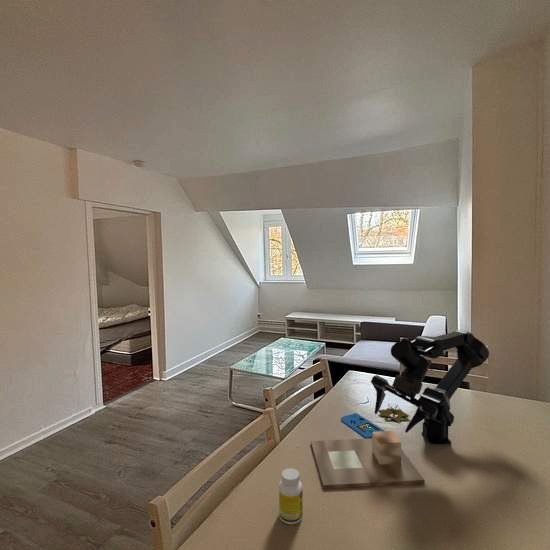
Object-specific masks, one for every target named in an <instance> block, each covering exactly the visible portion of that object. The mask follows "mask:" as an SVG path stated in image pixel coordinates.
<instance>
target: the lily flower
mask: <svg viewBox="0 0 550 550" xmlns="http://www.w3.org/2000/svg"><path fill="white" fill-rule="evenodd" d="M387 404H388V405H387V408H386V409H379V411H378V412H380V413H379V414H377V416H378V417H379V416H380V417H382V416H384V420H385V422H389V421H396V422H397V423H398V424H399V425H400V424H401V421H408V422H410V421H411V419H410V418H408V417H407V416H409V414H408V413H406V412H404V411H403V409H400V407H399V406H398V404H397V405H396V403H394V406H395V407H393V406H391V405H390V404H389V403H387ZM397 408H398V409H397ZM397 415H398V416H397ZM395 417H396V418H395ZM389 418H390V419H389Z"/></svg>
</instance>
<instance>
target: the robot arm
mask: <svg viewBox="0 0 550 550" xmlns="http://www.w3.org/2000/svg"><path fill="white" fill-rule="evenodd" d="M414 338H415V339H414V340H412V341H411V339H409V338H406V337H403V338H402V339H401V340H400V341H399V340H398V341H396V342H395V343H394V344H393V345H392V346H391V348H390V354H391V355H390V356H392V357H393V358H394V359H395V360H396V361H397V362H398V363H399V364H400V365H402V366H403V367H404V370H402V372H401V373H400V375H399V374H397V375H395V377H394V380H393V382H392V385H391V384H390V383H389V381H388V380H387V379H386V378H383V377H381V376H380V375H378V374H375V375H373V376H372V378H371V380H370V383H371V384H372V386H373V388H374V389H375V391H376V399H375V408H374V415H378V413H379V412H380V411H379V410H381V407H382V405H383V402H384V400H385V398H386V393H385V392H389V393H391V394H393V395H394V396H397V397H398V398H400V399H402V400H404V401H406V403H410V404H411V405H413V406H415V407H416V408H417V409H416V411H415V412H414V415H413V416H412V418H411V419H410V421H409V423H407V426H406V428H405V431H404V432H405V433H406V434H407V433H408V432H410V430H413V428H414V427H415V426H417V424H419V423H420V422H421V421H423V422H422V431H421V435H422V436H423V437H424V438H425V439H426V440H427V442H429V443H430V445H439V444H440V445H442V444H443V445H444V444H446V445H447V444H452V441H451V439H449V427H451V426H452V424H454V420H455V416H454V414H453V413H452V412H451V411H450V410H451V402H450V401H451V398H452V397H453V396H454V394H455V393H456V391H457V390H458V388H459V387H460V386H461V385H462V383H463V381H464V380H465V378H467V376H468V374H469V373H470V372H471V371H472V370H473V369H475V368H478V367H480V366H482V365H483V364H484V363H485V361H486V360H487V359H488V358H489V356H490V350H489V349H488V348H487V346H486V345H485V343H484V342H482V341H481V340H479V339H478V338H476V337H475V336H474V334H473V333H471V332H469V331H465V330H464V331H463V330H459V329H457V330H455V331H452V332H448V333H445V334H441V335H437V336H428V335H418V336H416V337H414ZM453 348H455V349H456V354H457V359H456V360H455V362H453V364H452V365H451V367H450V368H449V370H448V371H447V372H446V373H445V375H444V376H443V377H442V378H441V380H440V381H439V383H438V384H437V385H436V386H435V387H434V388H431V387H429V386H427V387H426V388H424V390H423V392H422V393H421V394H420V392H421V391H422V389H423V388H422V387H423V381H424V379H425V377H426V375H427V373H428V370H430V371H433V370H434V366H433V363H432V360H429V359H426V358H430V359H434V360H435V359H438V358H440V357H442V356H443V355H444V352H445V351H448V350H450V349H453ZM419 394H420V395H419ZM417 395H419V398H418V399H417V398H416V396H417Z"/></svg>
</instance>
